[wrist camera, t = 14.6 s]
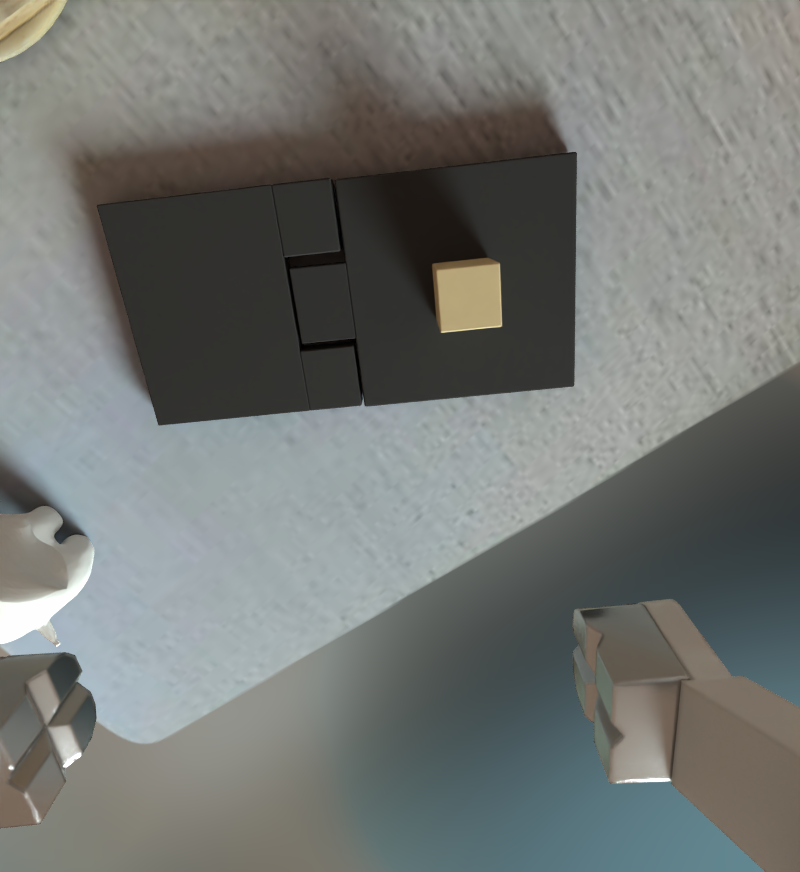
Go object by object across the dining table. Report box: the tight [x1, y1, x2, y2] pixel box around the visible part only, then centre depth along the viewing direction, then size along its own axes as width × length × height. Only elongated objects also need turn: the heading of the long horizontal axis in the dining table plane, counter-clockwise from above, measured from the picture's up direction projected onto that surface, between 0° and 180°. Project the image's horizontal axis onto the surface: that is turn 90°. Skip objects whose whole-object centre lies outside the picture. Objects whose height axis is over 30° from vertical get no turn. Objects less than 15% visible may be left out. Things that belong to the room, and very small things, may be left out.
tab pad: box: [290, 152, 577, 406], centre depth 29 cm, size 15×12×5 cm
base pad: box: [97, 178, 363, 425], centre depth 31 cm, size 12×12×1 cm
